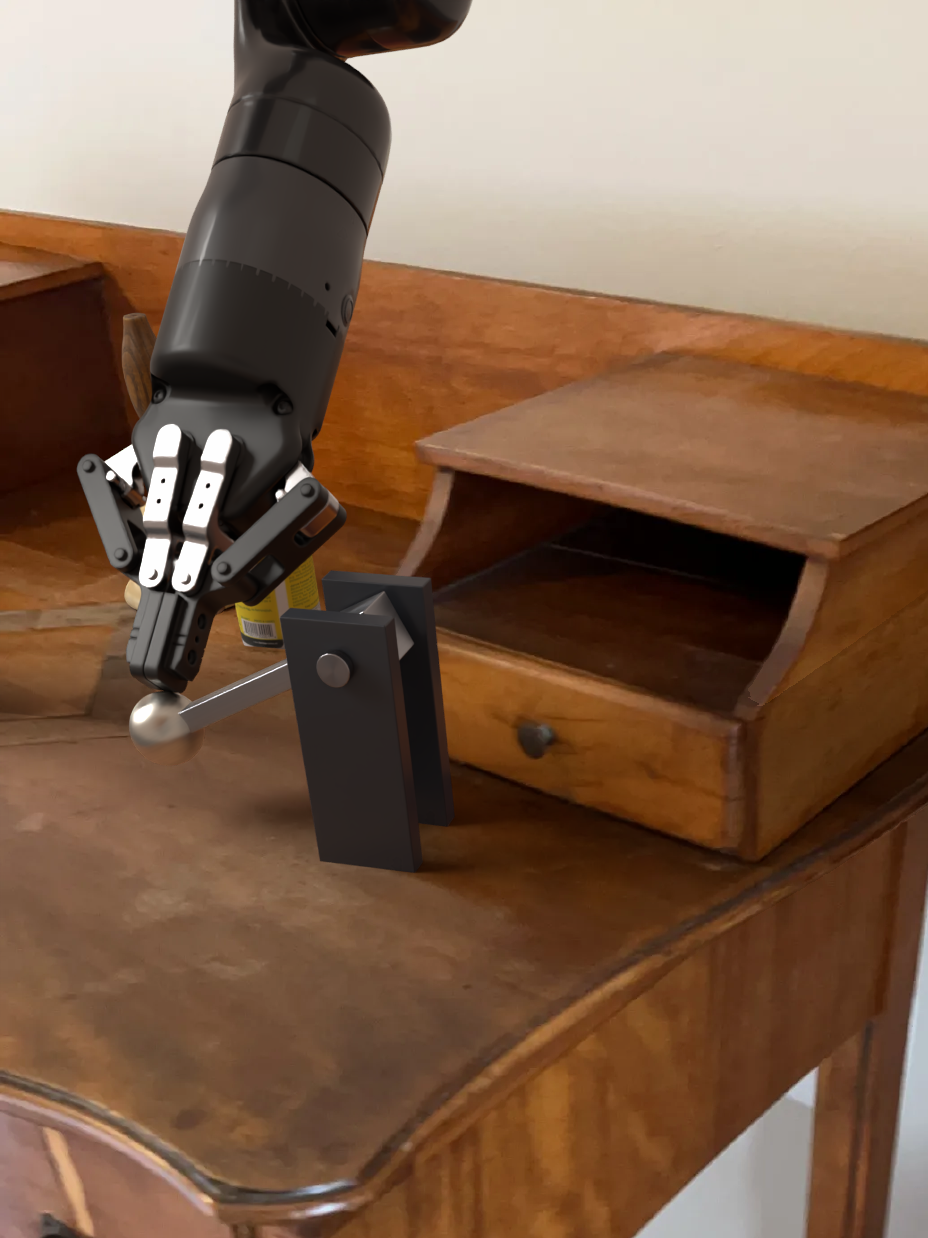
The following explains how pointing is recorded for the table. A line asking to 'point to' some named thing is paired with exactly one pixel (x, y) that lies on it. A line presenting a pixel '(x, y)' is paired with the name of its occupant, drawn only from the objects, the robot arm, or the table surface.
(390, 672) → the bracket
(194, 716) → the tap lever
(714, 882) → the table surface
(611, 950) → the table surface
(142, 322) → the hand bell
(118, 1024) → the table surface
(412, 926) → the table surface
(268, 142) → the robot arm
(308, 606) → the supplement bottle
